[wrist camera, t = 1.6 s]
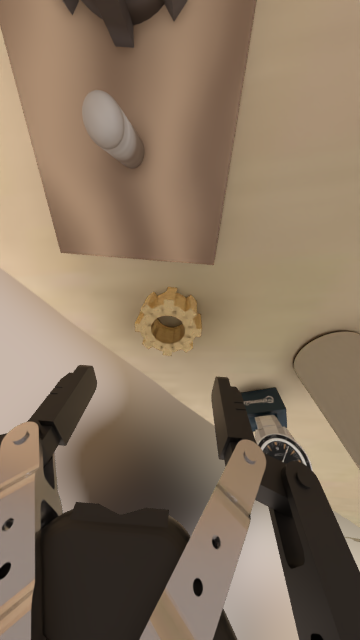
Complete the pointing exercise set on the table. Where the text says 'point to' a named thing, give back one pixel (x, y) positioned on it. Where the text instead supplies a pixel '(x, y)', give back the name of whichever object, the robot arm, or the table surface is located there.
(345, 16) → the table surface
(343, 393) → the travel mug
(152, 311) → the brass gear
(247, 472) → the robot arm
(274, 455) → the watch
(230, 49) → the gear board
